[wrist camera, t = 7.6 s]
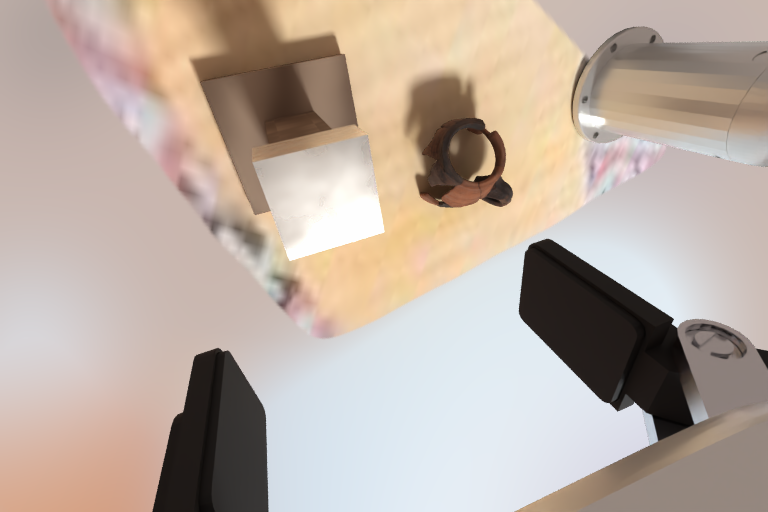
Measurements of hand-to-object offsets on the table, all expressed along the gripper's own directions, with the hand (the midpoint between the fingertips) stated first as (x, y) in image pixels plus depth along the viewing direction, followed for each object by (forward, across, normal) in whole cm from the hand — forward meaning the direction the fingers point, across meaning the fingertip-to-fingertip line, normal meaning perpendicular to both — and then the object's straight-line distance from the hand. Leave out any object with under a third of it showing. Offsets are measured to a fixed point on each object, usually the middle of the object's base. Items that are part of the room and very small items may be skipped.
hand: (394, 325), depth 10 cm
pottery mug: (+28, -16, +7) cm, 33 cm away
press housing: (+27, 0, 0) cm, 27 cm away
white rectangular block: (+25, 0, 0) cm, 25 cm away
